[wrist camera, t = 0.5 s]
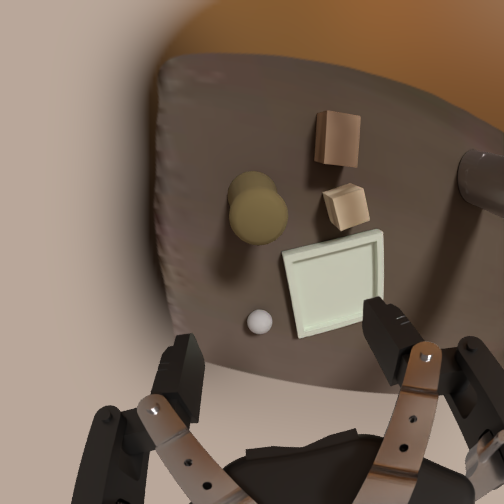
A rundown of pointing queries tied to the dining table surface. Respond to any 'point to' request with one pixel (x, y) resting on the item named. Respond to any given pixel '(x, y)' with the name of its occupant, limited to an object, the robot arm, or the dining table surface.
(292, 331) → the dining table surface
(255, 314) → the grey ball
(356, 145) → the walnut block
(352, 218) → the maple block
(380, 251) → the tray
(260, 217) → the cork
